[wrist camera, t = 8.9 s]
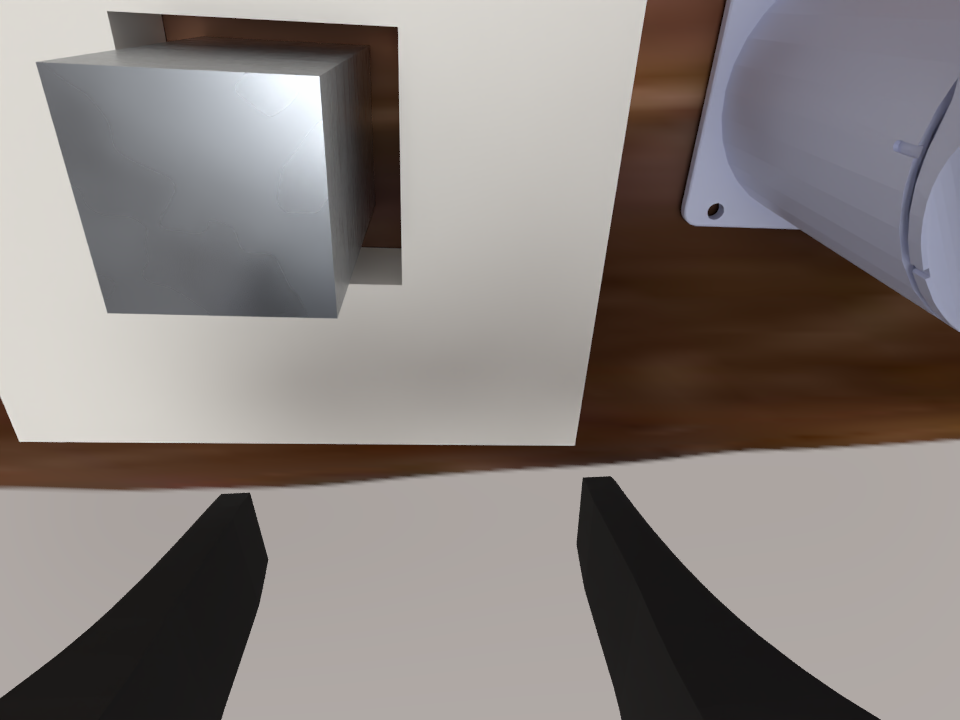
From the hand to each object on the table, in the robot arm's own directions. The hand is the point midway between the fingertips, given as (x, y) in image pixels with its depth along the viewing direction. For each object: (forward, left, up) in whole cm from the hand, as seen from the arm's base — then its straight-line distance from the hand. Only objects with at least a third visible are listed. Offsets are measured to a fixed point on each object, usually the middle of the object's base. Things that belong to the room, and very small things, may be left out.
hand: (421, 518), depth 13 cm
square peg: (+4, -6, -10) cm, 12 cm away
